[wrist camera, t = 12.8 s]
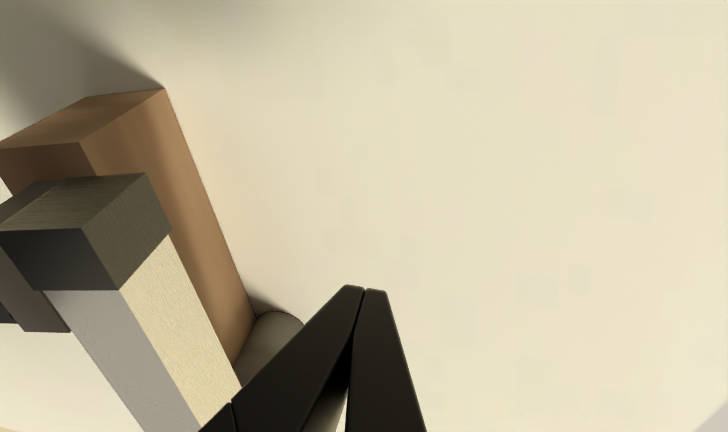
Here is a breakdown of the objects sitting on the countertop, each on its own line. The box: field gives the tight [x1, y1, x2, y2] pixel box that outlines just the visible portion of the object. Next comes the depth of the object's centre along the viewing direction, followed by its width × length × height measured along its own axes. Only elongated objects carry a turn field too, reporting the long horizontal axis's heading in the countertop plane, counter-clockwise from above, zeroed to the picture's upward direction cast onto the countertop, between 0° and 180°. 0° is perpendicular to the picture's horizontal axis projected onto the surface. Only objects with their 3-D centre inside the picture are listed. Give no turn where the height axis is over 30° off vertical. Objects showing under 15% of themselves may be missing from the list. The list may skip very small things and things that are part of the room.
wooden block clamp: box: [0, 88, 304, 387], centre depth 18 cm, size 5×22×6 cm, turn 9°
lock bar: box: [0, 172, 242, 432], centre depth 13 cm, size 12×3×3 cm, turn 9°
